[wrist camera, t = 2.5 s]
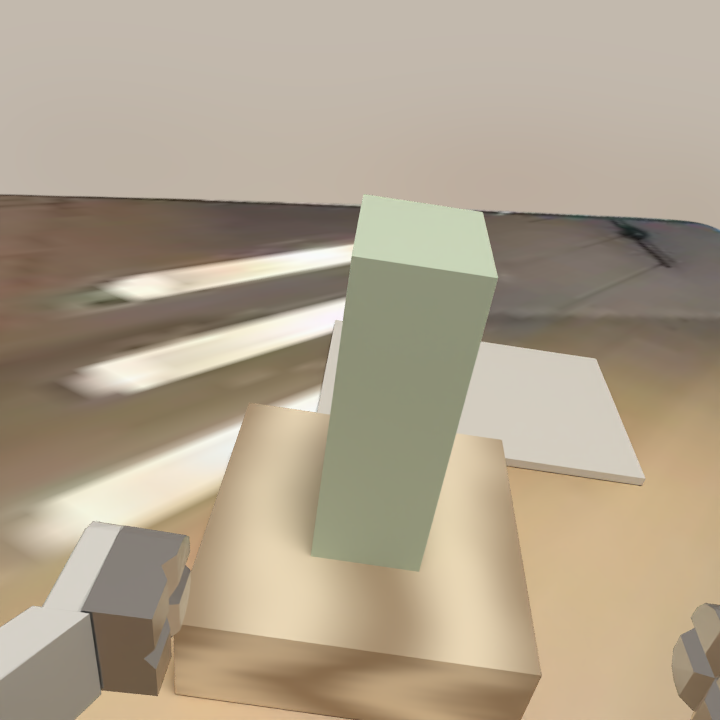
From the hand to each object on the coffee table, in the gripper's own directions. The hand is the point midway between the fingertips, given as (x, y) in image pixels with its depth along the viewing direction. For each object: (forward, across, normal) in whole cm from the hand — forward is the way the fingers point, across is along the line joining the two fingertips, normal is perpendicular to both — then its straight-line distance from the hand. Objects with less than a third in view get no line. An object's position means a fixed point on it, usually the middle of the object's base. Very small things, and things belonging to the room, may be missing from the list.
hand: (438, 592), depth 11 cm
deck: (+12, +1, +15) cm, 19 cm away
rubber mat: (+27, -5, +15) cm, 32 cm away
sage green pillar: (+12, 0, +11) cm, 16 cm away
